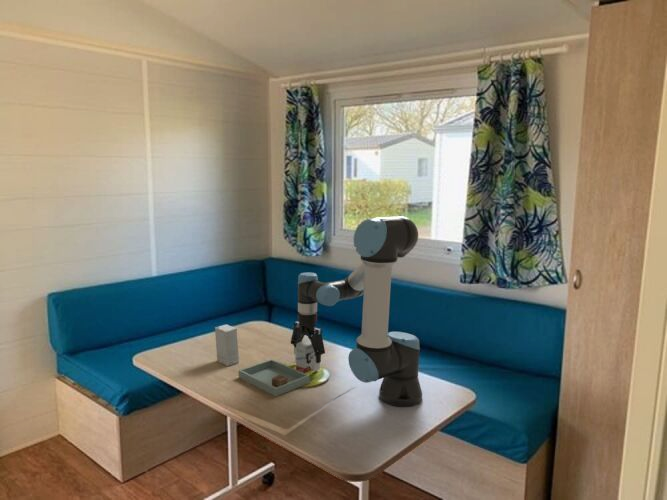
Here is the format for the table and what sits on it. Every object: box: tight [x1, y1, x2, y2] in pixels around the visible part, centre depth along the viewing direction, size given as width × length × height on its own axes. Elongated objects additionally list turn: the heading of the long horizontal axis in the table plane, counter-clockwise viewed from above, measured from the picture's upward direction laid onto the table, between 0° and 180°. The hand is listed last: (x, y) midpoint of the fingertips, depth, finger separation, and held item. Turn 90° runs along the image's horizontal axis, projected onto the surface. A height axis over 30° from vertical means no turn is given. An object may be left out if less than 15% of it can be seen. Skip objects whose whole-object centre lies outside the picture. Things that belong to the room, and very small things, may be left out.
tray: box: [238, 358, 311, 397], centre depth 187 cm, size 22×16×4 cm
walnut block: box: [272, 375, 288, 387], centre depth 180 cm, size 4×4×4 cm
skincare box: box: [214, 323, 240, 367], centre depth 205 cm, size 8×6×15 cm
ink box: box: [295, 338, 318, 373], centre depth 199 cm, size 9×5×12 cm, turn 143°
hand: (307, 366), depth 199 cm, fingers open, 10 cm apart
